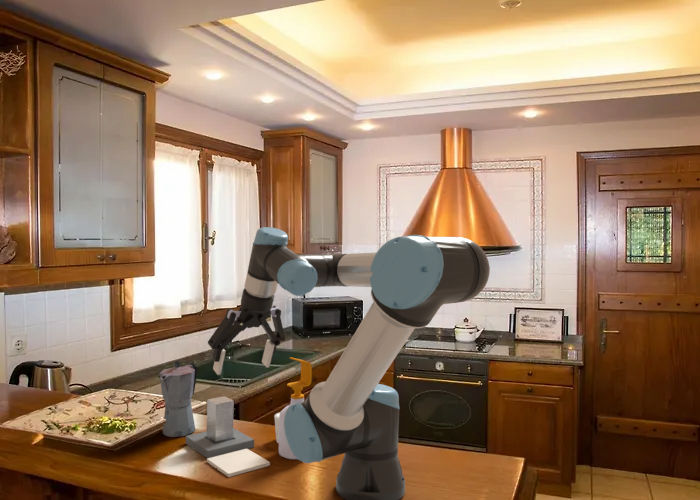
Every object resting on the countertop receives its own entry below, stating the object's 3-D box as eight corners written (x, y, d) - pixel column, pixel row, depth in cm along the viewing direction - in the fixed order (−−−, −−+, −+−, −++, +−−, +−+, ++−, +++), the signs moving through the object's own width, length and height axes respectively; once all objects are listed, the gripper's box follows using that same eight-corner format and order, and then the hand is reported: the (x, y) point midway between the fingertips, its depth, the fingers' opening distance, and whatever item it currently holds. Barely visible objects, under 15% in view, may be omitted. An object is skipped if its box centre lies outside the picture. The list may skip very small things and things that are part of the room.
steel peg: (232, 446, 147) (233, 400, 147) (215, 450, 144) (216, 404, 144) (223, 440, 151) (224, 396, 151) (206, 444, 148) (207, 399, 148)
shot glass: (301, 436, 155) (301, 411, 155) (296, 445, 149) (297, 419, 148) (277, 435, 156) (277, 410, 156) (271, 444, 149) (271, 418, 149)
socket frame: (254, 447, 147) (254, 439, 147) (207, 459, 139) (208, 450, 138) (230, 433, 157) (230, 426, 157) (185, 443, 148) (185, 436, 148)
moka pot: (147, 438, 152) (148, 364, 151) (180, 420, 166) (181, 353, 166) (177, 442, 149) (179, 367, 149) (208, 424, 164) (209, 356, 163)
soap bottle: (271, 452, 144) (273, 356, 143) (300, 444, 150) (302, 352, 149) (292, 463, 137) (294, 363, 137) (321, 454, 143) (323, 358, 143)
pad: (269, 465, 135) (269, 462, 135) (228, 477, 128) (228, 473, 128) (246, 451, 144) (246, 448, 144) (206, 461, 137) (206, 458, 137)
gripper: (294, 282, 144) (276, 354, 150) (204, 286, 128) (188, 366, 134) (310, 295, 139) (291, 369, 145) (218, 301, 123) (201, 383, 129)
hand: (241, 368), depth 140 cm, fingers open, 13 cm apart
